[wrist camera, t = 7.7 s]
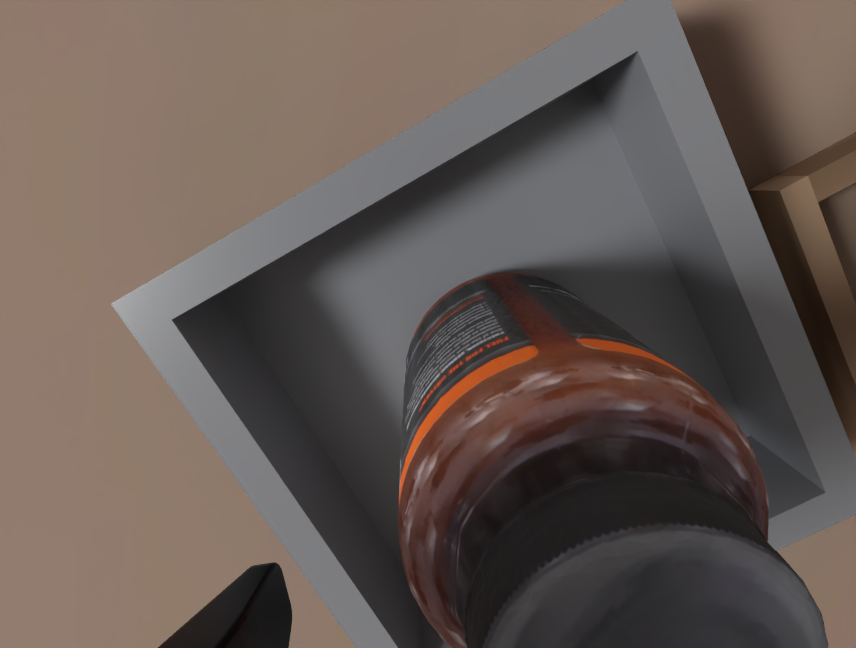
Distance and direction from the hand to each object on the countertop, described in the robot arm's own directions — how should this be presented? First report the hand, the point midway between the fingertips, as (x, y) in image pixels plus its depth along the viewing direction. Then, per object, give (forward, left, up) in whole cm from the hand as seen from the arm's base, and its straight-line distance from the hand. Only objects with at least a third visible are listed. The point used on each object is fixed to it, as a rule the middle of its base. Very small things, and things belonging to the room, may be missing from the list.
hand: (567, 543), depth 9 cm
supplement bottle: (0, 0, -9) cm, 9 cm away
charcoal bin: (0, 0, -9) cm, 9 cm away
